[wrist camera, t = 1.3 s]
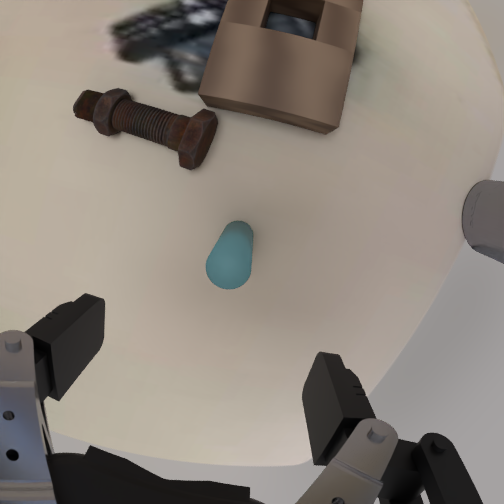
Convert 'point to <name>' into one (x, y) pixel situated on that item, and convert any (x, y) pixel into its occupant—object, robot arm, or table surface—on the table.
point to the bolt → (149, 123)
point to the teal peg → (231, 256)
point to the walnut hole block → (283, 62)
